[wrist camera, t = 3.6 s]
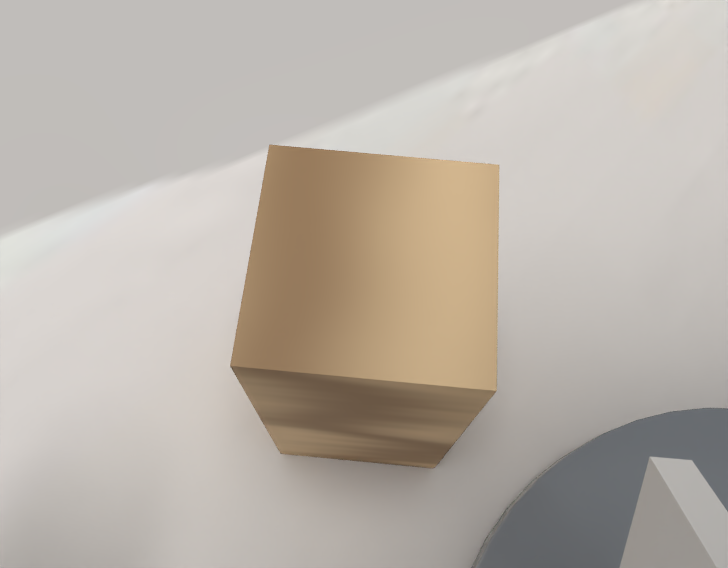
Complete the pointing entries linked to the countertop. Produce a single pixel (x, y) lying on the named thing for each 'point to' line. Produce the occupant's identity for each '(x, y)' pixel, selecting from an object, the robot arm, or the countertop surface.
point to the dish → (602, 492)
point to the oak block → (370, 304)
